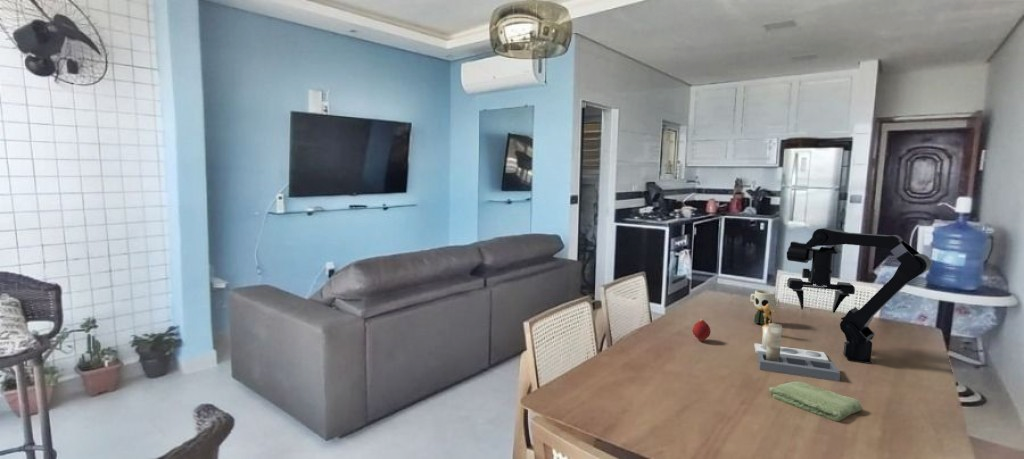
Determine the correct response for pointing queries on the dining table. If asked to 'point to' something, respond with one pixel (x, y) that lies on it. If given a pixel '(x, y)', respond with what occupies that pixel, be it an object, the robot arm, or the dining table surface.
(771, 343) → the birch peg
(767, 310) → the figurine
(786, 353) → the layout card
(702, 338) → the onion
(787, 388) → the washcloth
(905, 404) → the dining table surface
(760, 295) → the character mug
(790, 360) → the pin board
